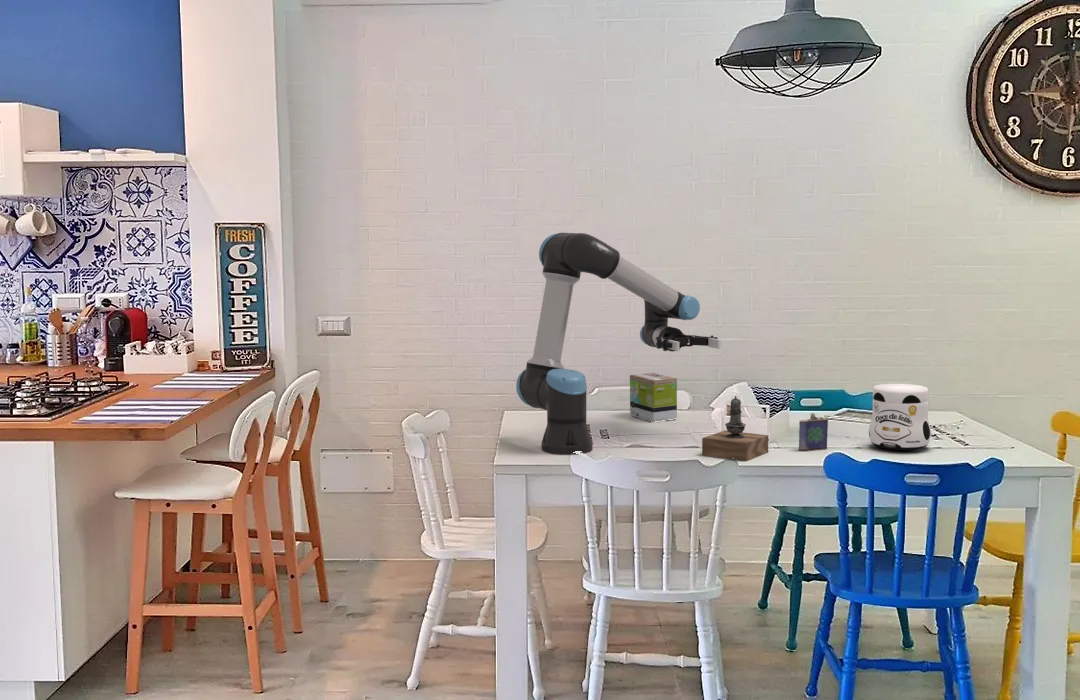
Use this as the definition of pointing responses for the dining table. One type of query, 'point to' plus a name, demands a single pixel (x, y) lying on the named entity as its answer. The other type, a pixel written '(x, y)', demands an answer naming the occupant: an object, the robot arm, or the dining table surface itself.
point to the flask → (813, 433)
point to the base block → (735, 446)
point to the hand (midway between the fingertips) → (699, 345)
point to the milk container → (900, 417)
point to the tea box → (653, 397)
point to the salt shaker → (735, 420)
